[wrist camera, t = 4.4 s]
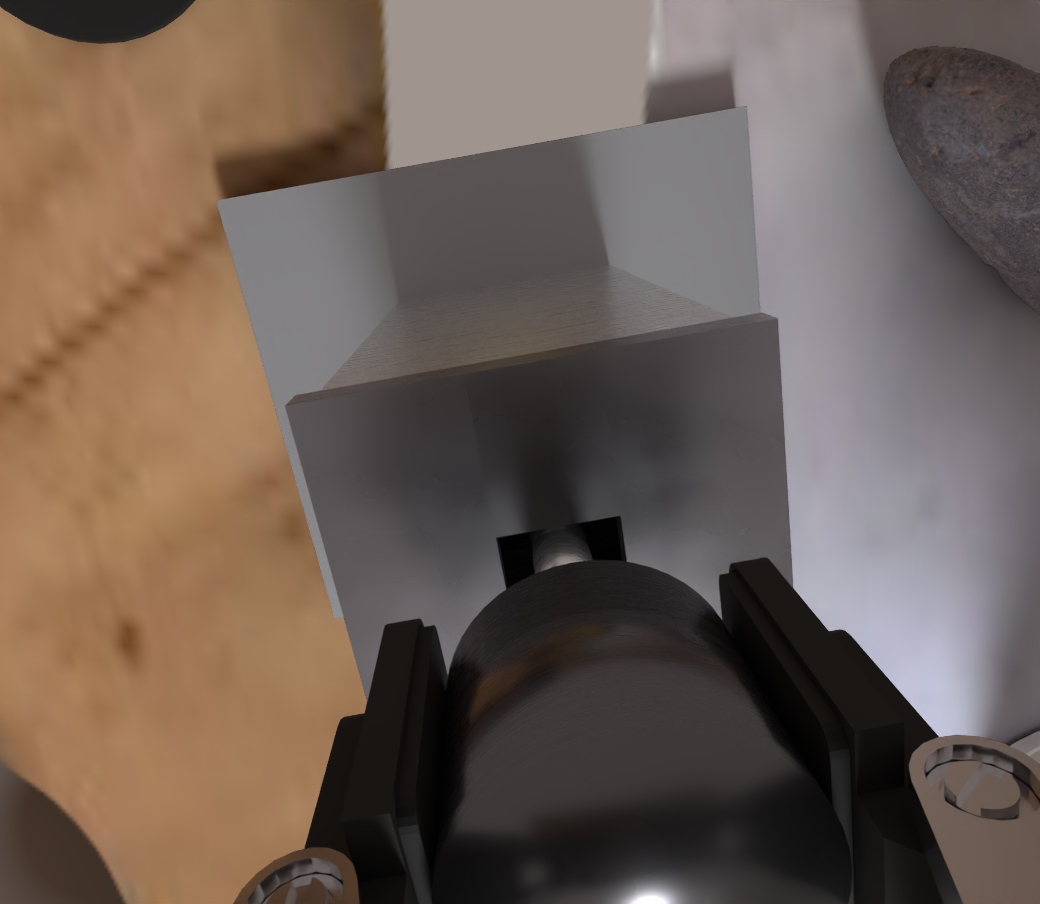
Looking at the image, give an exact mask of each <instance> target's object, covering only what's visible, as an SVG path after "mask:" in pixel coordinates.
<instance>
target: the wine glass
mask: <svg viewBox="0 0 1040 904" xmlns="http://www.w3.org/2000/svg"><path fill="white" fill-rule="evenodd" d="M194 1H195V0H0V7H1V8H3V9H4V10H5V11H7V12H9V13H10V14H12V15H14V16H15V17H17V18H18V19H20V20H22V21H23V22H25V23H27V24H29V25H31V26H34V27H36V28H38V29H41V30H43V31H45V32H48V33H50V34H52V35H55V36H59V37H63V38H66V39H70V40H74V41H78V42H89V43H100V44H102V43H116V42H125V41H129V40H133V39H136V38H140V37H144V36H146V35H148V34H151V33H153V32H155V31H157V30H159V29H161V28H164V27H165V26H167V25H168V24H169V23H171V22H172V21H173V20H175V19H176V18H177V17H179V16H180V15H181V14H183V13H184V12H185V10H186V9H187V8H188V7H189V6H190V5H191V4H192V3H193V2H194Z"/></svg>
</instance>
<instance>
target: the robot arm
mask: <svg viewBox="0 0 1040 904" xmlns="http://www.w3.org/2000/svg"><path fill="white" fill-rule="evenodd" d="M719 591H720V602H721V613H722V621H723V622H724V624H725V626H726V628H727V629H728V631H729V633H730V634H731V636H732V638H733V639H734V641H735V643H736V644H737V646H738V648H739V650H740V651H741V653H742V655H743V656H744V658H745V660H746V661H747V663H748V665H749V666H750V668H751V670H752V672H753V673H754V675H755V677H756V678H757V680H758V682H759V683H760V685H761V687H762V688H763V690H764V692H765V694H766V695H767V697H768V699H769V700H770V702H771V704H772V705H773V707H774V709H775V710H776V712H777V714H778V716H779V717H780V719H781V721H782V722H783V724H784V726H785V727H786V729H787V731H788V733H789V734H790V736H791V738H792V739H793V741H794V743H795V744H796V746H797V748H798V749H799V751H800V753H801V755H802V756H803V758H804V760H805V761H806V763H807V765H808V766H809V768H810V770H811V771H812V773H813V775H814V777H815V778H816V780H817V782H818V783H819V785H820V787H821V788H822V790H823V792H824V793H825V795H826V797H827V799H828V800H829V802H830V804H831V805H832V807H833V809H834V811H835V813H836V815H837V817H838V818H839V820H840V822H841V824H842V826H843V828H844V831H845V835H846V838H847V841H848V845H849V848H850V855H851V863H852V886H851V894H850V899H849V904H1040V731H1037V732H1035V733H1033V734H1031V735H1029V736H1027V737H1025V738H1023V739H1021V740H1019V741H1017V742H1015V743H1013V744H1012V745H1010V746H1008V745H1006V744H1004V743H1002V742H998V741H994V740H990V739H986V738H983V737H978V736H966V735H952V736H944V737H939V736H938V735H937V734H936V733H935V732H934V731H933V730H932V728H931V727H930V726H929V725H928V724H927V723H926V721H925V720H924V719H923V718H922V717H921V716H920V715H919V713H918V712H917V711H916V710H915V709H914V708H913V707H912V705H911V704H910V703H909V702H908V701H907V700H906V699H905V697H904V696H903V695H902V694H901V693H900V692H899V690H898V689H897V688H896V687H895V686H894V685H893V684H892V682H891V681H890V680H889V679H888V678H887V677H886V676H885V674H884V673H883V672H882V671H881V670H880V669H879V667H878V666H877V665H876V664H875V663H874V662H873V661H872V659H871V658H870V657H869V656H868V655H867V654H866V653H865V651H864V650H863V649H862V648H861V647H860V646H859V644H858V643H857V642H856V641H855V640H854V639H853V638H852V636H850V635H849V634H848V633H847V632H846V631H844V630H834V631H828V630H827V629H826V627H825V626H824V625H823V624H822V623H821V621H820V620H819V619H818V618H817V616H816V615H815V614H814V613H813V612H812V610H811V609H810V608H809V607H808V606H807V604H806V603H805V602H804V601H803V600H802V598H801V597H800V596H799V595H798V593H797V592H796V591H795V590H794V589H793V587H792V586H791V585H790V584H789V583H788V581H787V580H786V579H785V578H784V577H783V575H782V574H781V573H780V572H779V570H778V569H777V568H776V567H775V566H774V564H773V563H772V562H771V561H770V560H769V559H768V558H767V557H763V558H758V559H752V560H746V561H741V562H735V563H731V564H730V567H729V573H726V574H720V576H719ZM447 680H448V674H447V670H446V666H445V661H444V657H443V653H442V649H441V644H440V640H439V636H438V632H437V629H436V626H435V625H431V626H426V627H424V624H423V622H422V620H421V619H420V618H418V619H413V620H407V621H401V622H396V623H390V624H386V625H385V627H384V630H383V635H382V639H381V644H380V648H379V652H378V657H377V661H376V666H375V670H374V674H373V679H372V683H371V688H370V692H369V697H368V701H367V705H366V710H365V713H364V714H358V715H352V716H347V717H343V718H342V719H341V720H340V722H339V725H338V727H337V731H336V735H335V738H334V742H333V746H332V750H331V753H330V757H329V761H328V764H327V768H326V772H325V775H324V779H323V783H322V786H321V790H320V794H319V797H318V801H317V805H316V808H315V812H314V816H313V819H312V823H311V827H310V830H309V834H308V838H307V841H306V845H305V849H303V850H298V851H294V852H292V853H289V854H287V855H285V856H283V857H281V858H279V859H277V860H275V861H273V862H272V863H270V864H269V865H268V866H266V867H265V868H264V869H262V870H261V871H259V872H258V873H257V874H256V875H255V876H254V877H253V878H252V879H251V880H250V881H249V882H248V883H247V884H246V885H245V887H244V888H243V889H242V890H241V892H240V893H239V895H238V897H237V898H236V900H235V902H234V903H233V904H432V889H433V875H434V860H435V846H436V831H437V817H438V803H439V788H440V774H441V759H442V745H443V731H444V716H445V702H446V687H447Z"/></svg>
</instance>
